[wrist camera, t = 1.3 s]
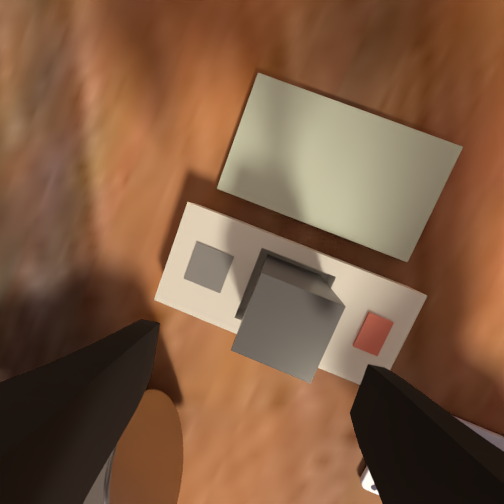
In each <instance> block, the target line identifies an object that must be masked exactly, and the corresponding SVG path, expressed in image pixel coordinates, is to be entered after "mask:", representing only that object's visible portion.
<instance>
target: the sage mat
mask: <svg viewBox="0 0 504 504" xmlns="http://www.w3.org/2000/svg"><path fill="white" fill-rule="evenodd" d="M462 148H463V146H460V145H457V144H454V143H451V142H449V141H446V140H443V139H440V138H438V137H435V136H432V135H429V134H427V133H424V132H421V131H418V130H416V129H413V128H410V127H407V126H404V125H402V124H399V123H396V122H393V121H391V120H388V119H385V118H382V117H380V116H377V115H374V114H371V113H369V112H366V111H363V110H360V109H357V108H355V107H352V106H349V105H346V104H344V103H341V102H338V101H335V100H333V99H330V98H327V97H324V96H322V95H319V94H316V93H313V92H310V91H308V90H305V89H302V88H299V87H297V86H294V85H291V84H288V83H286V82H283V81H280V80H277V79H275V78H272V77H269V76H266V75H263V74H261V73H258V74H257V77H256V80H255V82H254V85H253V88H252V91H251V94H250V97H249V99H248V102H247V105H246V108H245V111H244V113H243V116H242V119H241V122H240V125H239V127H238V130H237V133H236V136H235V139H234V142H233V144H232V147H231V150H230V153H229V156H228V158H227V161H226V164H225V167H224V170H223V172H222V175H221V178H220V181H219V184H218V186H217V189H218V190H221V191H223V192H226V193H229V194H231V195H234V196H236V197H239V198H242V199H244V200H247V201H249V202H252V203H254V204H257V205H260V206H262V207H265V208H267V209H270V210H273V211H275V212H278V213H280V214H283V215H285V216H288V217H291V218H293V219H296V220H298V221H301V222H304V223H306V224H309V225H311V226H314V227H316V228H319V229H322V230H324V231H327V232H329V233H332V234H335V235H337V236H340V237H342V238H345V239H347V240H350V241H353V242H355V243H358V244H360V245H363V246H366V247H368V248H371V249H373V250H376V251H378V252H381V253H384V254H386V255H389V256H391V257H394V258H397V259H399V260H402V261H405V262H408V260H409V258H410V256H411V254H412V252H413V250H414V248H415V246H416V244H417V242H418V240H419V238H420V236H421V233H422V231H423V229H424V227H425V225H426V223H427V221H428V219H429V217H430V215H431V213H432V211H433V208H434V206H435V204H436V202H437V200H438V198H439V196H440V194H441V192H442V190H443V188H444V186H445V184H446V181H447V179H448V177H449V175H450V173H451V171H452V169H453V167H454V165H455V163H456V161H457V159H458V157H459V154H460V152H461V150H462Z"/></svg>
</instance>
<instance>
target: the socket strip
mask: <svg viewBox="0 0 504 504" xmlns="http://www.w3.org/2000/svg"><path fill="white" fill-rule="evenodd" d="M267 254H269V255H271V256H274V257H276V258H279V259H281V260H284V261H286V262H289V263H291V264H294V265H296V266H299V267H301V268H304V269H306V270H309V271H311V272H314V273H317V274H319V275H321V276H322V278H323V279H324V280H325V281H326V283H327V284H328V285H329V286H330V288H331V289H332V290H333V291H334V293H335V294H336V295H337V296H338V297H339V299H340V300H341V301H342V302H343V304H344V305H345V306H346V307H345V309H344V311H343V314H342V316H341V318H340V320H339V322H338V325H337V327H336V329H335V331H334V333H333V335H332V338H331V340H330V342H329V344H328V346H327V349H326V351H325V353H324V355H323V357H322V360H321V362H320V364H319V366H318V368H320V369H322V370H325V371H327V372H330V373H332V374H335V375H337V376H339V377H342V378H344V379H347V380H349V381H351V382H354V383H356V384H359V385H360V384H361V381H362V379H363V376H364V373H365V370H366V368H367V365H368V364H370V365H375V366H380V367H385V368H387V369H388V370H390V369H391V367H392V365H393V364H394V362H395V360H396V358H397V356H398V354H399V352H400V350H401V348H402V346H403V344H404V342H405V340H406V338H407V336H408V334H409V332H410V330H411V328H412V326H413V324H414V322H415V320H416V318H417V316H418V314H419V312H420V310H421V308H422V306H423V304H424V302H425V300H426V298H427V295H425V294H423V293H421V292H419V291H417V290H415V289H413V288H411V287H409V286H407V285H404V284H401V283H399V282H396V281H394V280H391V279H389V278H386V277H384V276H381V275H378V274H376V273H373V272H371V271H368V270H366V269H363V268H361V267H358V266H355V265H353V264H350V263H348V262H345V261H343V260H340V259H338V258H335V257H332V256H330V255H327V254H325V253H322V252H320V251H317V250H315V249H312V248H309V247H307V246H304V245H302V244H299V243H297V242H294V241H292V240H289V239H286V238H284V237H281V236H279V235H276V234H274V233H271V232H269V231H266V230H263V229H261V228H258V227H256V226H253V225H251V224H248V223H246V222H243V221H240V220H238V219H235V218H233V217H230V216H228V215H225V214H223V213H220V212H217V211H215V210H212V209H210V208H207V207H205V206H202V205H200V204H196V203H191V202H187V205H186V208H185V211H184V214H183V217H182V220H181V223H180V225H179V228H178V231H177V234H176V237H175V240H174V243H173V246H172V249H171V252H170V255H169V258H168V261H167V263H166V266H165V269H164V272H163V275H162V278H161V281H160V284H159V287H158V290H157V293H156V296H155V299H154V300H156V301H158V302H160V303H163V304H165V305H168V306H170V307H173V308H175V309H177V310H180V311H182V312H185V313H187V314H189V315H192V316H194V317H197V318H199V319H202V320H204V321H206V322H209V323H211V324H214V325H216V326H218V327H221V328H223V329H226V330H228V331H231V332H233V333H235V334H237V332H238V329H239V326H240V324H241V321H242V318H243V315H244V313H245V310H246V307H247V304H248V302H249V299H250V297H251V294H252V292H253V289H254V287H255V284H256V282H257V279H258V277H259V274H260V272H261V269H262V267H263V264H264V262H265V259H266V257H267Z"/></svg>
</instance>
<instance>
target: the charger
mask: <svg viewBox="0 0 504 504" xmlns="http://www.w3.org/2000/svg"><path fill="white" fill-rule="evenodd" d="M345 307H346V306H345V305H344V304H343V302H342V301H341V300H340V299H339V297H338V296H337V295H336V294H335V293H334V291H333V290H332V289H331V288H330V286H329V285H328V284H327V283H326V281H325V280H324V279H323V278H322V276H321V275H319V274H317V273H314V272H311V271H309V270H306V269H304V268H301V267H299V266H296V265H294V264H291V263H289V262H286V261H284V260H281V259H279V258H276V257H274V256H271V255H269V254H267V257H266V259H265V262H264V264H263V267H262V269H261V272H260V274H259V277H258V279H257V282H256V284H255V287H254V289H253V292H252V294H251V297H250V299H249V302H248V304H247V307H246V310H245V313H244V315H243V318H242V321H241V324H240V326H239V329H238V332H237V335H236V337H235V340H234V343H233V346H232V348H231V351H234V352H236V353H239V354H241V355H243V356H246V357H248V358H251V359H253V360H255V361H258V362H260V363H263V364H265V365H267V366H270V367H272V368H275V369H277V370H279V371H282V372H284V373H287V374H289V375H291V376H294V377H296V378H299V379H301V380H303V381H306V382H308V383H310V384H311V381H312V379H313V377H314V375H315V373H316V370H317V368H318V366H319V364H320V362H321V360H322V357H323V355H324V353H325V351H326V349H327V346H328V344H329V342H330V340H331V338H332V335H333V333H334V331H335V329H336V327H337V325H338V322H339V320H340V318H341V316H342V314H343V311H344V309H345Z"/></svg>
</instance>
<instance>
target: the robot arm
mask: <svg viewBox="0 0 504 504" xmlns="http://www.w3.org/2000/svg"><path fill="white" fill-rule="evenodd" d="M159 326H160V323H158V322H153V321H148V320H143V319H141V320H139V321H137V322H135V323H133V324H131V325H129V326H127V327H125V328H123V329H121V330H119V331H117V332H115V333H113V334H111V335H109V336H107V337H105V338H103V339H101V340H99V341H97V342H95V343H93V344H91V345H89V346H87V347H85V348H83V349H81V350H78V351H76V352H74V353H72V354H70V355H67V356H65V357H63V358H61V359H58V360H56V361H54V362H52V363H49V364H47V365H45V366H42V367H40V368H37V369H35V370H32V371H30V372H27V373H25V374H22V375H19V376H16V377H14V378H11V379H8V380H5V381H3V382H0V504H83V503H84V501H85V499H86V497H87V495H88V493H89V491H90V490H91V488H92V486H93V484H94V482H95V481H96V479H97V477H98V475H99V474H100V472H101V470H102V469H103V467H104V465H105V463H106V462H107V460H108V458H109V456H110V455H111V453H112V451H113V449H114V448H115V446H116V444H117V443H118V441H119V439H120V437H121V436H122V434H123V432H124V430H125V429H126V427H127V425H128V423H129V422H130V420H131V418H132V416H133V415H134V413H135V411H136V409H137V407H138V405H139V403H140V401H141V399H142V397H143V394H144V392H145V390H146V387H147V385H148V383H149V380H150V378H151V375H152V369H153V363H154V357H155V351H156V345H157V339H158V332H159ZM350 415H351V419H352V423H353V427H354V431H355V434H356V437H357V441H358V444H359V447H360V449H361V452H362V454H363V457H364V459H365V462H366V464H367V466H366V468H365V470H364V472H363V474H362V476H361V478H360V482H361V486H362V487H363V488H364V489H366V490H368V491H370V492H373V493H375V494H377V495H379V496H380V498H381V500H382V503H383V504H504V436H501V435H499V434H497V433H494V432H492V431H489V430H487V429H484V428H482V427H480V426H477V425H475V424H472V423H470V422H467V421H465V420H463V419H460V418H458V417H455V416H453V415H451V414H450V413H448V412H447V411H446V410H444V409H443V408H442V407H440V406H439V405H438V404H436V403H435V402H434V401H432V400H431V399H429V398H428V397H427V396H425V395H424V394H423V393H421V392H420V391H419V390H417V389H416V388H415V387H413V386H412V385H410V384H409V383H408V382H406V381H405V380H403V379H402V378H401V377H399V376H398V375H396V374H395V373H393V372H392V371H390V370H388V369H387V368H385V367H380V366H375V365H370V364H368V365H367V368H366V370H365V373H364V376H363V379H362V381H361V384H360V387H359V389H358V392H357V395H356V398H355V400H354V403H353V406H352V409H351V411H350ZM373 484H375V485H373Z"/></svg>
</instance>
